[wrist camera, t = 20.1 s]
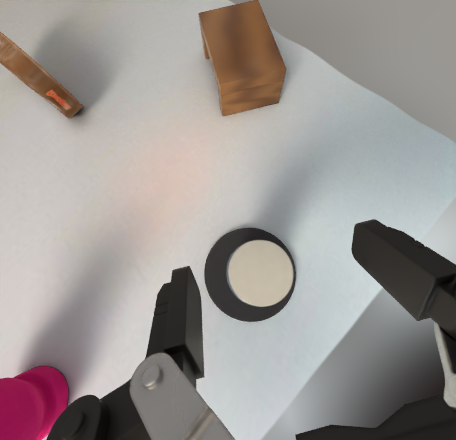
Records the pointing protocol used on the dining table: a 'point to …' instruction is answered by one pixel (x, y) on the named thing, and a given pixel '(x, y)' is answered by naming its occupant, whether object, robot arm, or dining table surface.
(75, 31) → the dining table surface
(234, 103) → the shelf
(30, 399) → the pepper mill
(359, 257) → the robot arm
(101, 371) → the dining table surface
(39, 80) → the tin
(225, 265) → the mat
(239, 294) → the cylinder
